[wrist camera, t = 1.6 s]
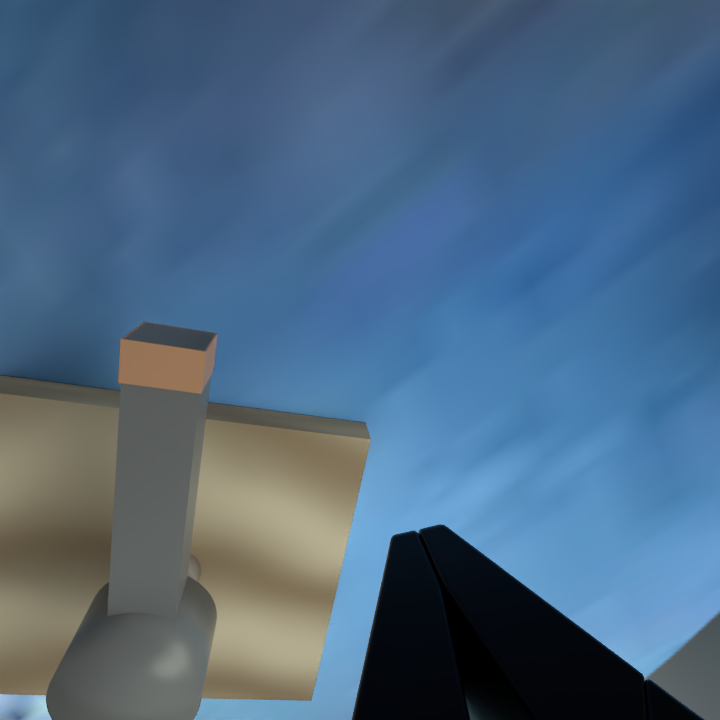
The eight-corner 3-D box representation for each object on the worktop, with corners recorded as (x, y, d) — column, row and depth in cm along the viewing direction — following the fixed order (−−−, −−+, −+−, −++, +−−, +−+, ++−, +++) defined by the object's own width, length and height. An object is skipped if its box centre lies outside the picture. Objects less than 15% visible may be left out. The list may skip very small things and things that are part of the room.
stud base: (310, 671, 24) (312, 745, 20) (5, 661, 21) (-49, 744, 18) (365, 423, 20) (379, 465, 17) (-1, 375, 17) (-71, 414, 14)
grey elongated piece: (210, 665, 18) (193, 751, 15) (87, 661, 17) (45, 751, 14) (256, 339, 14) (246, 371, 11) (102, 314, 13) (50, 343, 11)
